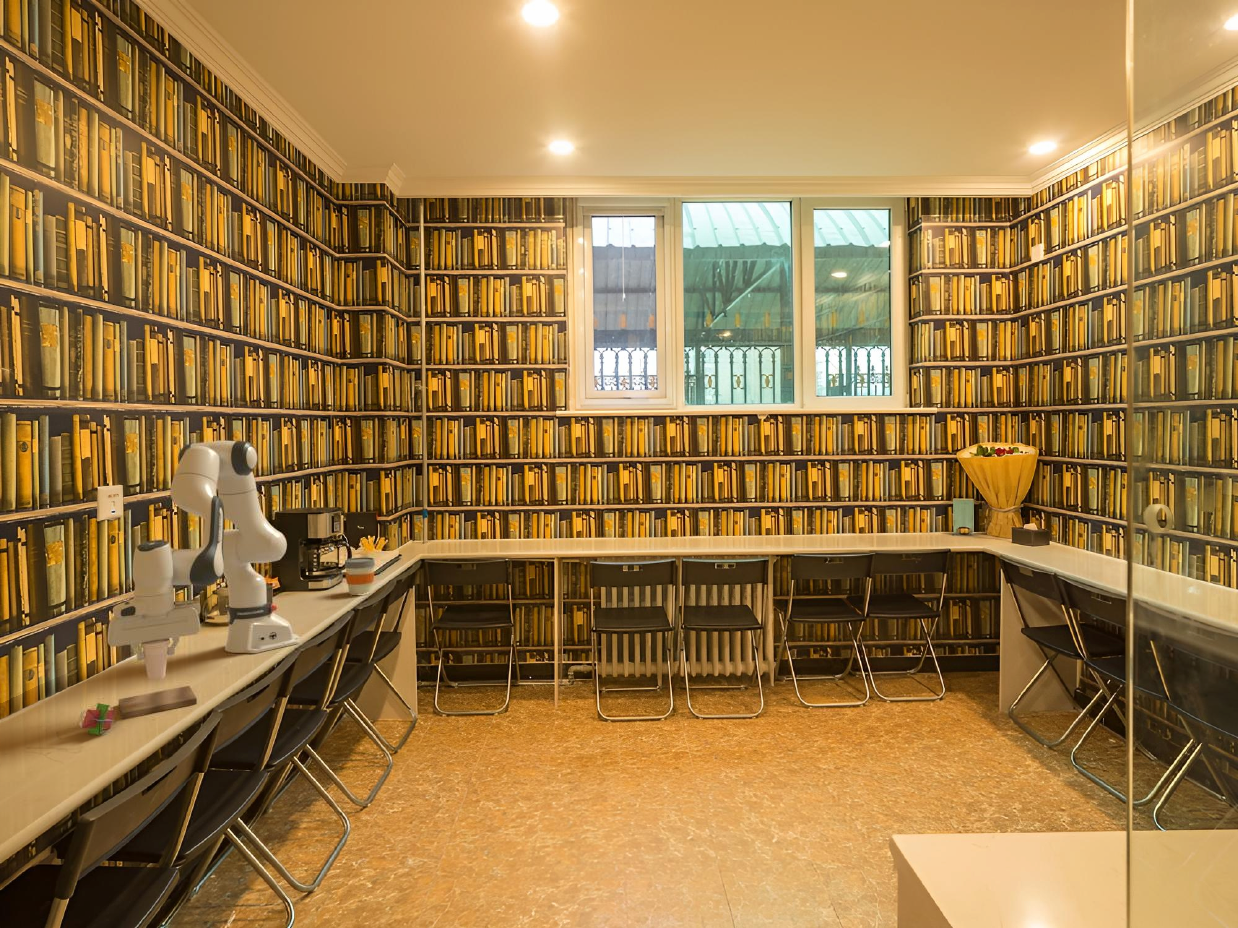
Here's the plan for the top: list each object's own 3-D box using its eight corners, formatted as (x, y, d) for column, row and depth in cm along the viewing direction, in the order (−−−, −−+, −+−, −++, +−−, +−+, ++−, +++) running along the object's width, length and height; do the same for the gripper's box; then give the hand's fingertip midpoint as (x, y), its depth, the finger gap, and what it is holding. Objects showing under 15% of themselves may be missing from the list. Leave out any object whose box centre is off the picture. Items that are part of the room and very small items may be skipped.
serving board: (189, 690, 199) (189, 685, 199) (196, 703, 190) (196, 697, 190) (118, 704, 189) (118, 699, 189) (122, 718, 180) (122, 712, 180)
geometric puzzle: (112, 713, 178) (90, 694, 173) (131, 716, 175) (109, 697, 171) (88, 739, 173) (65, 720, 168) (107, 744, 170) (84, 725, 165)
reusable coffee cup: (380, 593, 320) (380, 559, 319) (353, 598, 311) (352, 563, 310) (366, 589, 328) (366, 556, 328) (340, 593, 319) (339, 559, 319)
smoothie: (152, 673, 192) (151, 621, 192) (176, 673, 192) (175, 621, 191) (136, 681, 186) (134, 627, 185) (160, 681, 186) (158, 627, 185)
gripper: (198, 596, 197) (199, 646, 198) (106, 607, 184) (107, 661, 185) (202, 600, 192) (203, 652, 193) (107, 612, 179) (109, 667, 180)
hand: (155, 656), depth 189 cm, fingers closed on smoothie, 5 cm apart
